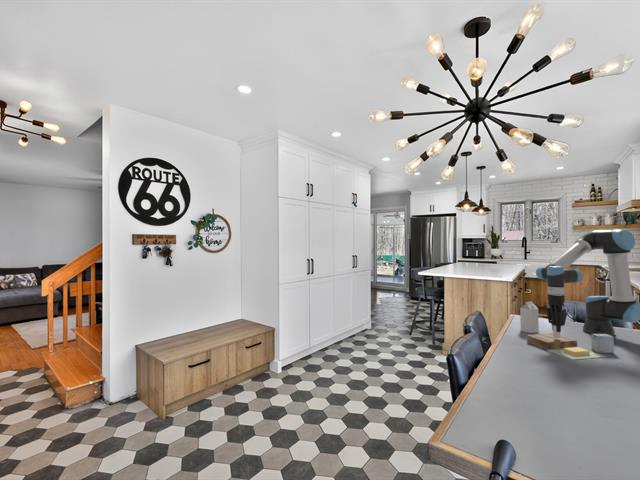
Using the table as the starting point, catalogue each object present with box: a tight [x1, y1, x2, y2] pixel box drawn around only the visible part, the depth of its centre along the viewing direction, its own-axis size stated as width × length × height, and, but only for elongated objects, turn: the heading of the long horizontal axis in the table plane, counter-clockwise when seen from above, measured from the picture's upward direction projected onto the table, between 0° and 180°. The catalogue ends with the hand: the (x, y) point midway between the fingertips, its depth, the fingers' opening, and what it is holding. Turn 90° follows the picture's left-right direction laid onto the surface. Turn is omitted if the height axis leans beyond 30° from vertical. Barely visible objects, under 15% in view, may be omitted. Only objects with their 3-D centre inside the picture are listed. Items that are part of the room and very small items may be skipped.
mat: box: [546, 349, 607, 361], centre depth 161 cm, size 20×14×1 cm
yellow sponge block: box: [563, 346, 591, 356], centre depth 161 cm, size 9×6×2 cm, turn 99°
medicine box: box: [590, 334, 615, 354], centre depth 164 cm, size 8×4×9 cm, turn 84°
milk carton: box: [519, 301, 540, 334], centre depth 201 cm, size 7×7×19 cm
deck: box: [526, 332, 578, 351], centre depth 175 cm, size 18×14×4 cm
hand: (556, 337), depth 172 cm, fingers closed
